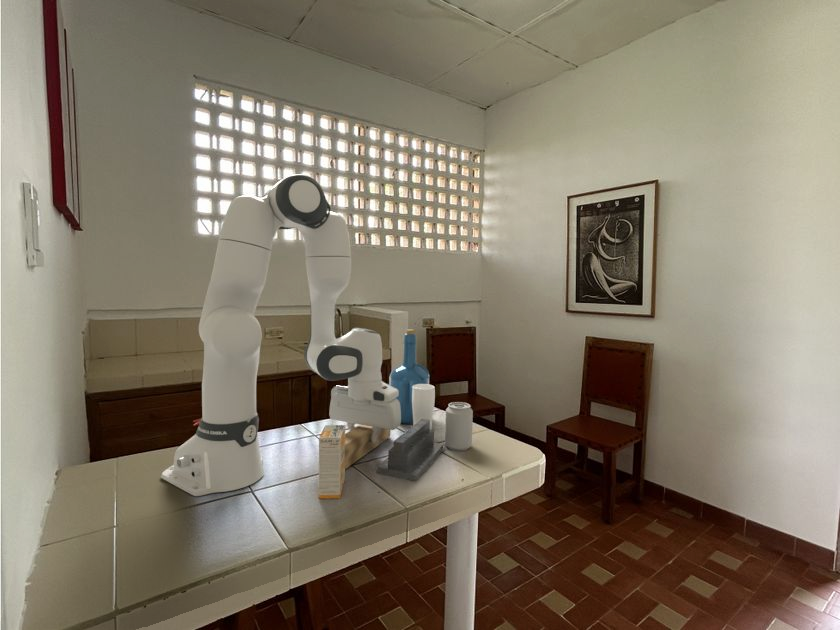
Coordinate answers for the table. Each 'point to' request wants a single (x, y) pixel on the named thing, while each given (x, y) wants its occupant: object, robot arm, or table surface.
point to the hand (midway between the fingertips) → (363, 440)
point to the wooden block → (361, 442)
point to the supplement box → (331, 461)
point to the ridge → (411, 452)
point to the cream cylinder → (423, 402)
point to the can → (458, 426)
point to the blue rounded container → (408, 377)
